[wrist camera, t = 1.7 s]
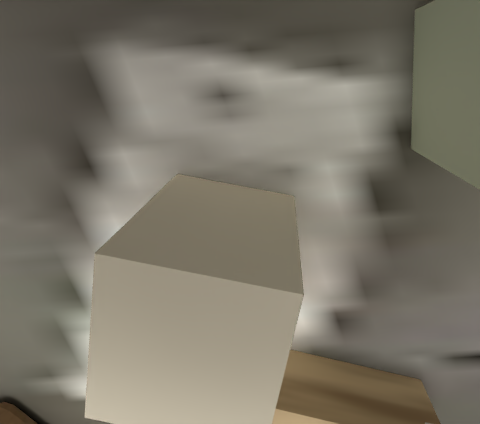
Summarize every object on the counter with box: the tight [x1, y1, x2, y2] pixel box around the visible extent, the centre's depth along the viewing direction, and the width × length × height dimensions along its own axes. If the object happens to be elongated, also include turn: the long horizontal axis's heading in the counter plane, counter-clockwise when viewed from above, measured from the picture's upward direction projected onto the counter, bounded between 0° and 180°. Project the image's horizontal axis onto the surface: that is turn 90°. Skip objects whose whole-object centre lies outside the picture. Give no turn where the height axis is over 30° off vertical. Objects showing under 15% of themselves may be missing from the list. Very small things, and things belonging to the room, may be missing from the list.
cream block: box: [85, 174, 304, 424], centre depth 18 cm, size 6×6×10 cm
